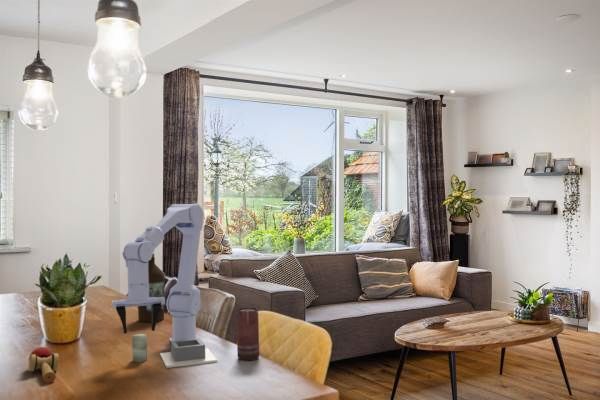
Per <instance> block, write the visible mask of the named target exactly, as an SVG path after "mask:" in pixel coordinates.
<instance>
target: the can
mask: <svg viewBox="0 0 600 400" xmlns="http://www.w3.org/2000/svg"><path fill="white" fill-rule="evenodd" d="M259 326H260V324H259V311H258V309H257V308H255V307H243V308H239V309H238V310H237V312H236V332H237V333H236V342H237V343H236V345H237V347H236V348H237V349H236V350H237V359H238V360H240V361H243V362H251V361H256V360H259V357H260V337H259V335H260V333H259V332H260V329H259V328H260V327H259Z"/></svg>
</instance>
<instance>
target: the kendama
mask: <svg viewBox="0 0 600 400" xmlns="http://www.w3.org/2000/svg"><path fill="white" fill-rule="evenodd" d="M28 359H29V362H28V371H29V372H31V373H32V372H34V371H36V370H41V373H42V380H43V382H44V383H46V384H49V383H53V382H54V381H55V380H56V374H55V372H57V371H58V369H59V362H60V356H59V353H57V352H55V353H54V352H52V350H51V349H50V348H48V347H46V346H40V347H37V348H35V349H34V350H32V351H31V352H30V355H29V358H28Z"/></svg>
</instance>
